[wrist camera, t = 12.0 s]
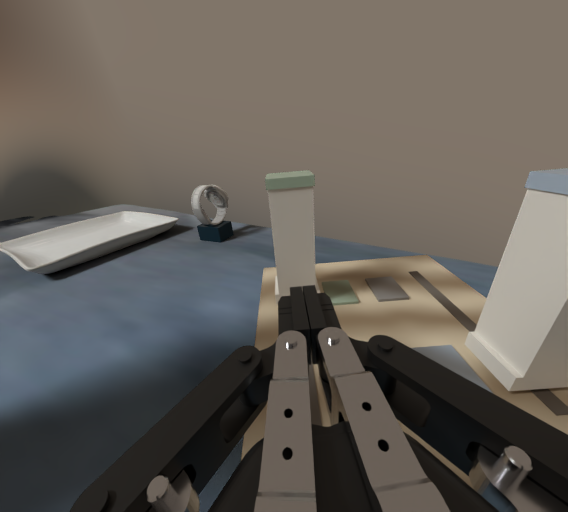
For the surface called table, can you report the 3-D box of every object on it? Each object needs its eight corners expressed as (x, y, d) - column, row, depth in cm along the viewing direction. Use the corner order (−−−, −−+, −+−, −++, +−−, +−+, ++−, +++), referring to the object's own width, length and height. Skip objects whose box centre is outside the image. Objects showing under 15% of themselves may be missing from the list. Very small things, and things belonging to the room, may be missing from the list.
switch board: (742, 533, 10) (789, 511, 9) (238, 565, 10) (229, 547, 9) (424, 267, 32) (427, 252, 31) (265, 280, 32) (263, 266, 31)
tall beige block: (320, 301, 23) (318, 174, 17) (276, 305, 23) (261, 179, 18) (314, 281, 26) (311, 169, 21) (276, 284, 26) (263, 174, 21)
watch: (238, 231, 52) (229, 181, 47) (215, 245, 45) (202, 189, 41) (219, 230, 54) (208, 182, 49) (194, 243, 48) (179, 189, 43)
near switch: (585, 387, 13) (750, 172, 8) (510, 392, 14) (625, 182, 8) (523, 338, 17) (611, 164, 12) (463, 343, 17) (524, 172, 12)
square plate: (128, 221, 70) (124, 209, 68) (184, 232, 56) (180, 216, 55) (0, 258, 50) (-11, 242, 48) (39, 288, 36) (24, 267, 34)
